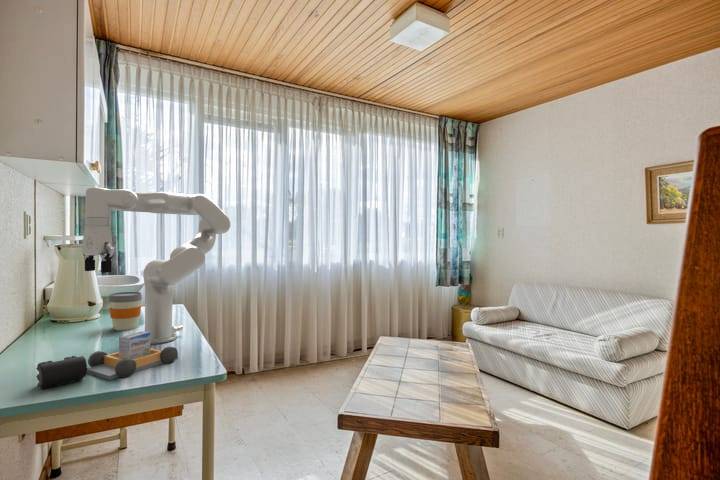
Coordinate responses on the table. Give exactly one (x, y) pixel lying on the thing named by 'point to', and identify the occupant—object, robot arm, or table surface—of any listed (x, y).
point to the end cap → (61, 371)
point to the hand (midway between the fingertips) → (97, 271)
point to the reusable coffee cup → (125, 309)
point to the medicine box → (134, 345)
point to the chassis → (127, 363)
